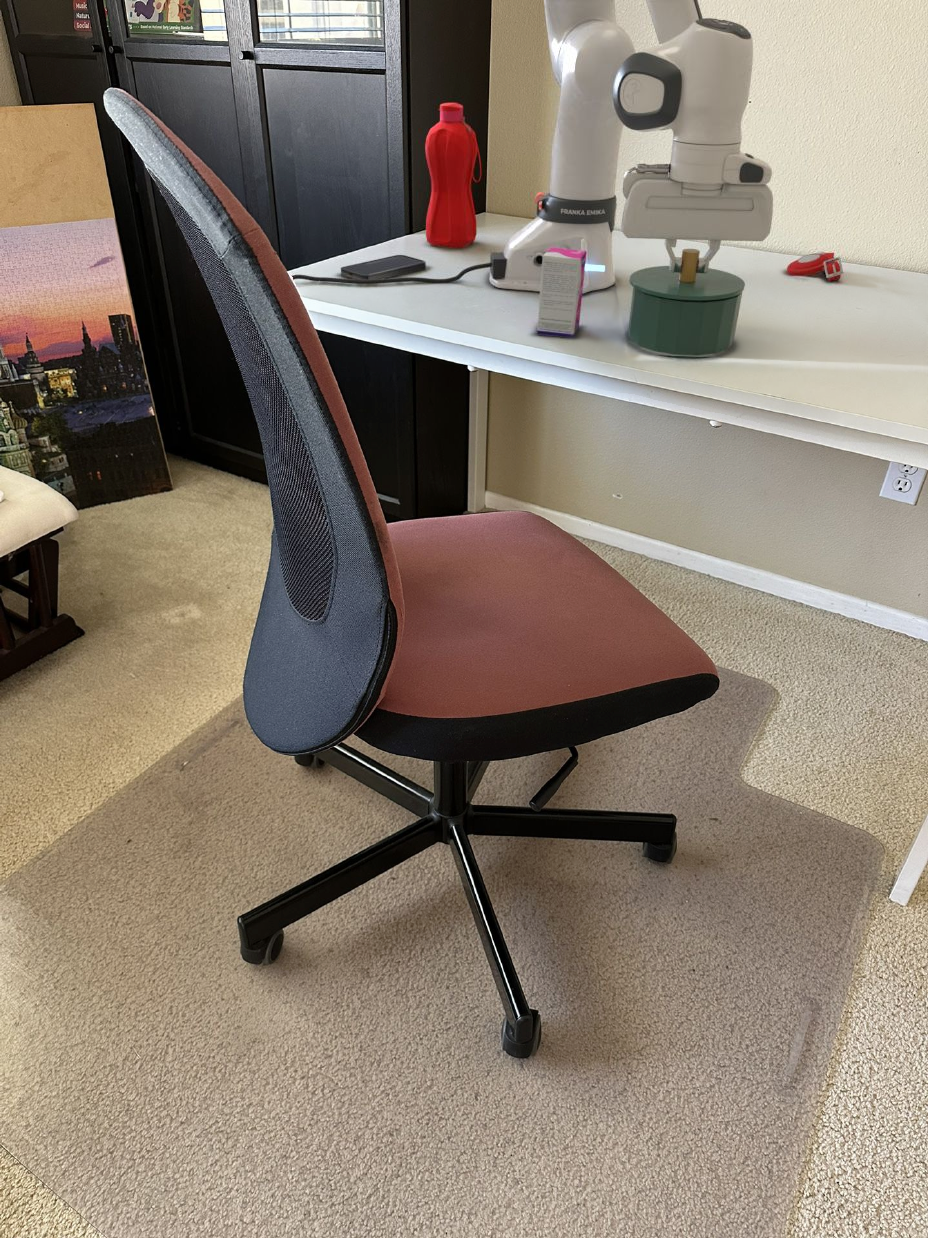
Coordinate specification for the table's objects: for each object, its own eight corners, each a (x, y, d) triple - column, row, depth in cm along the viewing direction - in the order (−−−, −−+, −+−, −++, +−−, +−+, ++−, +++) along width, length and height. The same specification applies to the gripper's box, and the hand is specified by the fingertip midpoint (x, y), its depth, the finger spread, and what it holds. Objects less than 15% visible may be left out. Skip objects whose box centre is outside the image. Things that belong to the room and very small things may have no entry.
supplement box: (574, 338, 135) (580, 258, 128) (535, 334, 136) (540, 255, 130) (580, 326, 140) (587, 249, 133) (543, 323, 141) (547, 246, 134)
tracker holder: (775, 267, 166) (805, 245, 170) (778, 290, 168) (808, 268, 172) (837, 264, 157) (867, 241, 161) (839, 289, 159) (869, 265, 163)
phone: (428, 261, 167) (365, 275, 158) (428, 267, 167) (365, 282, 159) (400, 253, 171) (337, 267, 162) (400, 260, 172) (338, 273, 163)
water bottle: (469, 252, 178) (471, 107, 163) (420, 245, 182) (418, 103, 167) (488, 242, 185) (492, 102, 170) (441, 236, 189) (440, 99, 174)
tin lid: (632, 303, 124) (636, 263, 121) (626, 271, 137) (630, 235, 134) (752, 306, 123) (759, 266, 120) (734, 275, 136) (740, 238, 133)
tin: (631, 356, 129) (638, 299, 124) (625, 324, 141) (630, 271, 136) (739, 360, 128) (750, 303, 123) (723, 327, 140) (732, 274, 135)
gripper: (626, 166, 119) (615, 275, 127) (784, 170, 117) (763, 279, 125) (624, 159, 124) (614, 264, 132) (775, 162, 122) (756, 268, 130)
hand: (688, 271), depth 128 cm, fingers closed on tin lid, 2 cm apart
